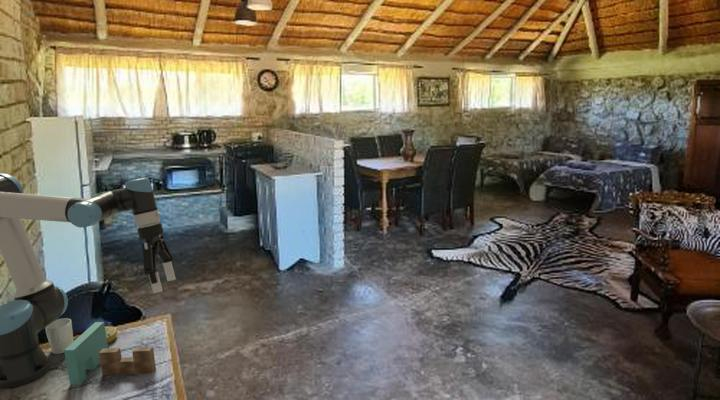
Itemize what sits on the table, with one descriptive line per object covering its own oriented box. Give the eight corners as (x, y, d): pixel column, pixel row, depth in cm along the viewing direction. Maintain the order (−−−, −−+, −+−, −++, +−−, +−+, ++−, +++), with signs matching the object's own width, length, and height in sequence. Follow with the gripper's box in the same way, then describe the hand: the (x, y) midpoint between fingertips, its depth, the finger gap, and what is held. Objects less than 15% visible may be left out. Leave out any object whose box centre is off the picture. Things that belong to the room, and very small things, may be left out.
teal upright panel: (100, 353, 162) (95, 322, 159) (109, 353, 162) (103, 321, 159) (70, 385, 144) (63, 350, 141) (80, 384, 144) (73, 349, 141)
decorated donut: (88, 337, 174) (86, 327, 173) (119, 331, 177) (118, 322, 176) (82, 350, 164) (80, 341, 163) (115, 344, 168) (114, 335, 167)
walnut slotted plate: (102, 375, 149) (98, 352, 147) (106, 370, 151) (102, 348, 149) (152, 373, 149) (149, 350, 147) (155, 368, 152) (152, 346, 150)
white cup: (80, 343, 169) (76, 318, 166) (65, 355, 161) (60, 329, 159) (60, 343, 169) (55, 318, 167) (44, 354, 162) (39, 328, 160)
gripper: (146, 229, 140) (164, 295, 143) (172, 216, 165) (186, 273, 168) (121, 234, 140) (139, 300, 142) (151, 221, 164) (166, 278, 167)
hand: (165, 286), depth 155 cm, fingers open, 13 cm apart
